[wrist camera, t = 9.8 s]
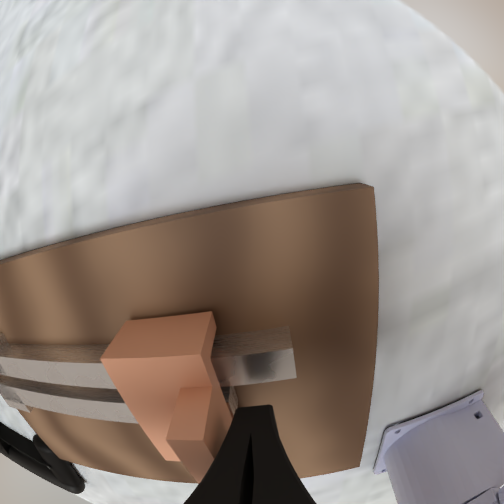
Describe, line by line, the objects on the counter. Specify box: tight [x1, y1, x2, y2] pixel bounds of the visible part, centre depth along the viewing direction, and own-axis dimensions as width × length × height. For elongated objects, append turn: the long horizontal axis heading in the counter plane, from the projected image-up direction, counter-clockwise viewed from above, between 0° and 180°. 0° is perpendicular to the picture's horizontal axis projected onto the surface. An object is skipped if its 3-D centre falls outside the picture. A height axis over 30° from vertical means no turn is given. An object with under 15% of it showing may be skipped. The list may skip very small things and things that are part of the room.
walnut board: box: [0, 183, 379, 483], centre depth 15 cm, size 28×20×2 cm
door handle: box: [0, 422, 85, 494], centre depth 20 cm, size 3×20×16 cm
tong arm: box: [0, 374, 238, 424], centre depth 13 cm, size 18×2×2 cm, turn 100°
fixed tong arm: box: [0, 326, 297, 389], centre depth 12 cm, size 21×2×2 cm, turn 100°
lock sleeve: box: [100, 311, 232, 484], centre depth 10 cm, size 4×7×5 cm, turn 10°
